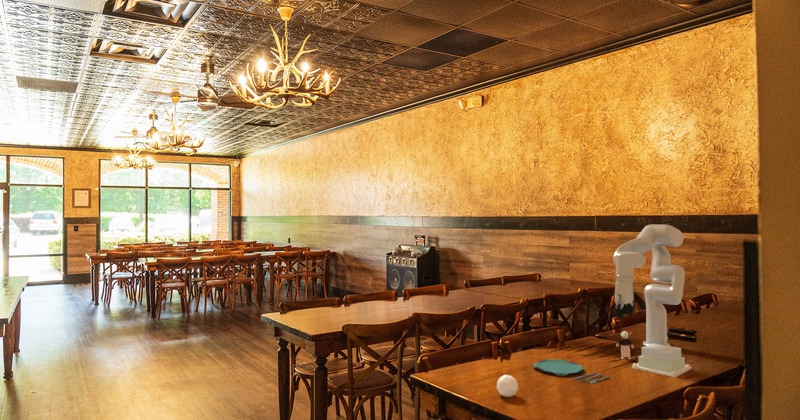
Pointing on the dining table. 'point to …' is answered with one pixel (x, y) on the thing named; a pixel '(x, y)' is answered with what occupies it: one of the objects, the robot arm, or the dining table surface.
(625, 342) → the grandmother figurine
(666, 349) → the white stepped pedestal
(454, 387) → the dining table surface
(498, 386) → the geometric ball
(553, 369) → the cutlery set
